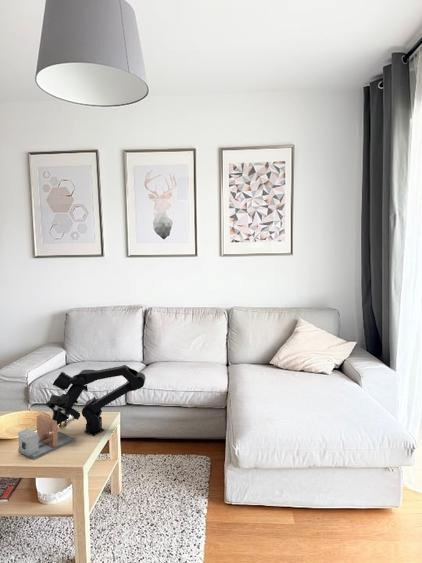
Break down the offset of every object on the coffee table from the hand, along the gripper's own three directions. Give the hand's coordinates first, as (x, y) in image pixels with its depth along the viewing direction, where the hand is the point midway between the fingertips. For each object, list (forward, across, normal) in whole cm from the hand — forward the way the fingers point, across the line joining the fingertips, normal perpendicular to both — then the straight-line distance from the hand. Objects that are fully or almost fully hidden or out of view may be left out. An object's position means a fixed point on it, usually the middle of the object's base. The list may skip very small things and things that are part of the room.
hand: (50, 428), depth 163 cm
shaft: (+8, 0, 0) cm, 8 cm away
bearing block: (+11, 0, -3) cm, 12 cm away
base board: (+6, 0, +4) cm, 7 cm away
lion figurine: (-6, -12, +16) cm, 22 cm away
